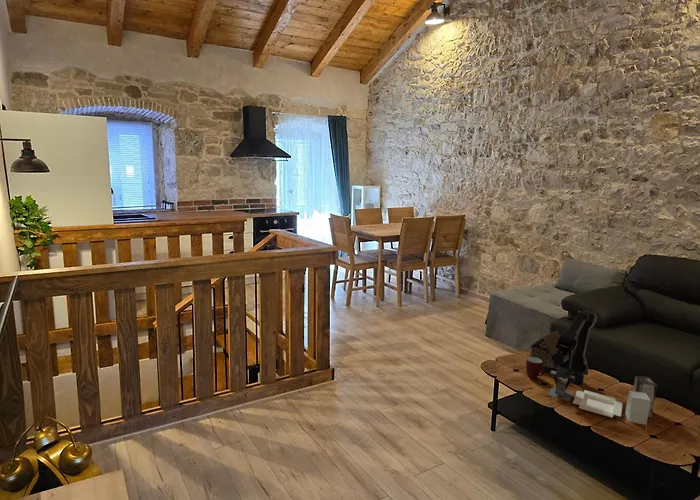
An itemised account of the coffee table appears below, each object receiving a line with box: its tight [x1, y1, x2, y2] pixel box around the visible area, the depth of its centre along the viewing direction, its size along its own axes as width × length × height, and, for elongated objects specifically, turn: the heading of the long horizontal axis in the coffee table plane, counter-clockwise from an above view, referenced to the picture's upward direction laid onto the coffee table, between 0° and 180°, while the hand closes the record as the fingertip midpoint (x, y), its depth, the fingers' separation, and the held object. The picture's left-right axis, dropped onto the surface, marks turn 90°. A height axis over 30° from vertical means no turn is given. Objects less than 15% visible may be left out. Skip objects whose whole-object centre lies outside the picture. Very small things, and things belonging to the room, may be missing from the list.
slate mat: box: [547, 386, 573, 402], centre depth 236 cm, size 10×10×1 cm
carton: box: [572, 389, 624, 419], centre depth 226 cm, size 21×20×2 cm
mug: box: [525, 356, 545, 380], centre depth 253 cm, size 10×8×10 cm
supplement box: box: [624, 390, 651, 426], centre depth 215 cm, size 7×7×13 cm
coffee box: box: [632, 375, 658, 418], centre depth 222 cm, size 9×6×16 cm
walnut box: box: [555, 377, 568, 396], centre depth 235 cm, size 8×4×6 cm, turn 147°
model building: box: [529, 330, 565, 369], centre depth 269 cm, size 18×14×20 cm
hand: (561, 387), depth 236 cm, fingers closed on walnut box, 4 cm apart
